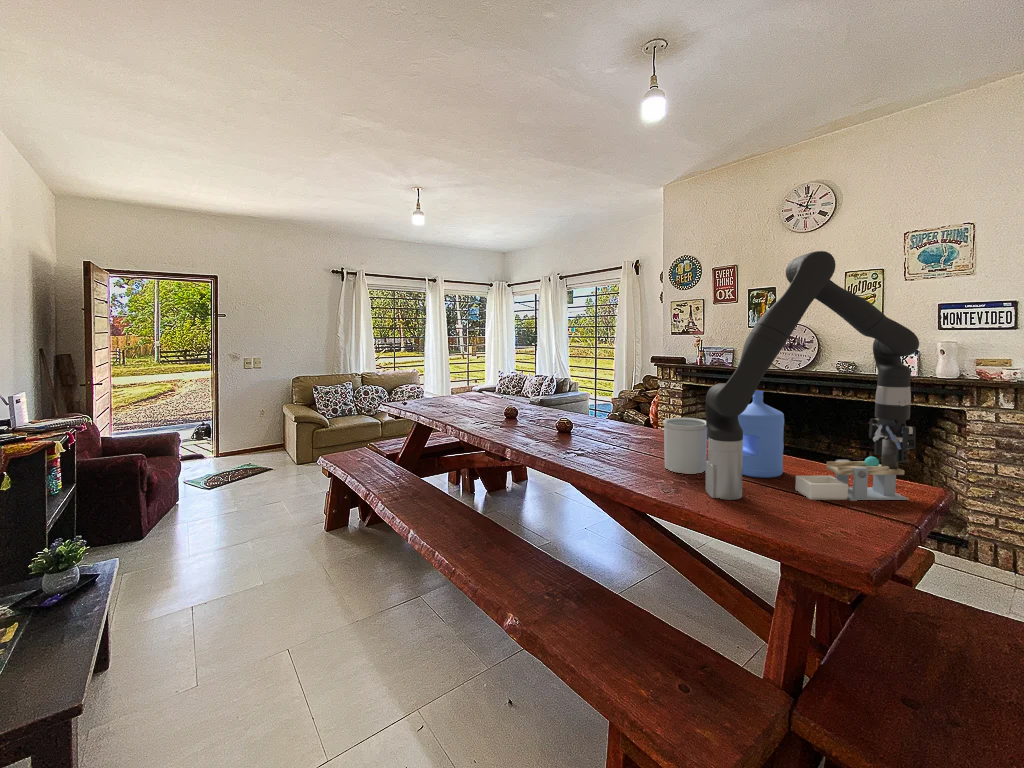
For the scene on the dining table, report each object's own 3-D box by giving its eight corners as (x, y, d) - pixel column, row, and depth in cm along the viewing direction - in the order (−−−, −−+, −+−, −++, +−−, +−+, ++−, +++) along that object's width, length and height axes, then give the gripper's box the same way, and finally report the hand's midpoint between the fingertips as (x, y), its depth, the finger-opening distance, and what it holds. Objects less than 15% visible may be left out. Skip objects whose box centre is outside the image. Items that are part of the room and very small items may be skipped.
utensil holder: (715, 475, 150) (715, 424, 148) (671, 476, 150) (671, 425, 149) (697, 463, 165) (698, 417, 163) (657, 464, 165) (657, 418, 163)
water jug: (769, 465, 159) (771, 388, 156) (792, 478, 144) (794, 393, 141) (724, 465, 161) (725, 389, 158) (742, 478, 145) (743, 394, 143)
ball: (869, 469, 125) (870, 458, 125) (861, 465, 128) (862, 455, 128) (881, 469, 125) (882, 458, 124) (873, 465, 128) (874, 455, 128)
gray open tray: (810, 499, 125) (811, 484, 125) (795, 490, 133) (795, 475, 133) (847, 499, 124) (848, 484, 124) (829, 490, 132) (830, 475, 132)
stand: (850, 500, 123) (852, 468, 122) (829, 489, 133) (830, 459, 132) (908, 500, 122) (910, 468, 121) (883, 489, 131) (884, 459, 131)
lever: (839, 475, 125) (840, 443, 124) (826, 468, 131) (827, 438, 130) (904, 474, 123) (906, 442, 122) (887, 468, 129) (889, 437, 128)
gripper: (861, 399, 132) (858, 452, 133) (897, 406, 118) (894, 465, 119) (888, 398, 131) (885, 451, 132) (928, 405, 117) (925, 465, 118)
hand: (890, 458), depth 126 cm, fingers open, 8 cm apart
